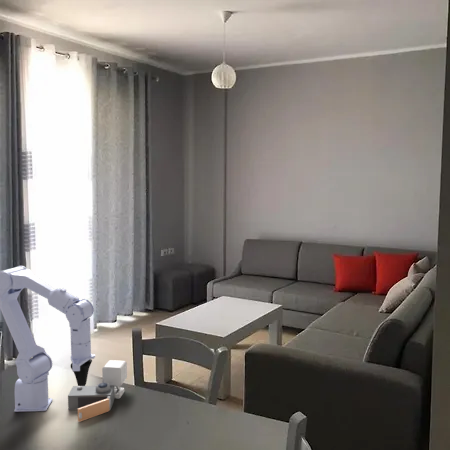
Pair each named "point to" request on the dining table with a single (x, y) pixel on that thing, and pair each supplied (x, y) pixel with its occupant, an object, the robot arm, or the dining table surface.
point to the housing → (89, 395)
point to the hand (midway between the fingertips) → (82, 385)
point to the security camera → (115, 375)
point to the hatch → (94, 409)
